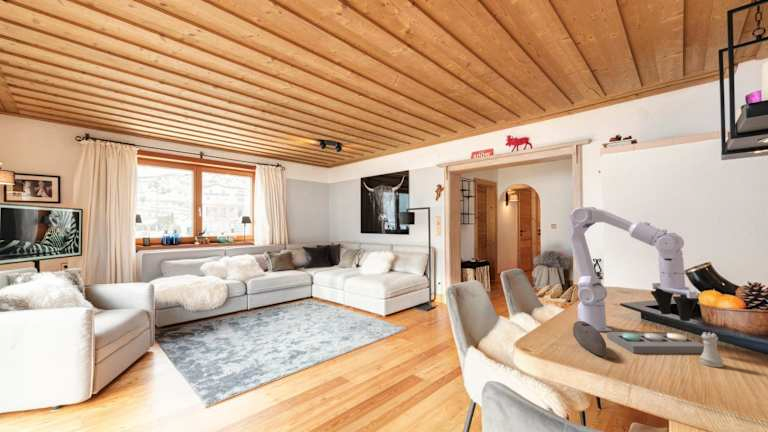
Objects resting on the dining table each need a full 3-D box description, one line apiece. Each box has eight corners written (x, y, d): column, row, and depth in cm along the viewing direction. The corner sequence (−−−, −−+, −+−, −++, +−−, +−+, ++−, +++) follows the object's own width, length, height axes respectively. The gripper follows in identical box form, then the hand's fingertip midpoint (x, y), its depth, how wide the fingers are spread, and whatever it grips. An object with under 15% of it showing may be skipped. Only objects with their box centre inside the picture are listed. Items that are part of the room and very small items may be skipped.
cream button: (663, 336, 101) (663, 332, 101) (678, 336, 100) (678, 332, 100) (674, 341, 96) (674, 337, 96) (690, 341, 96) (690, 337, 96)
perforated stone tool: (614, 360, 89) (612, 335, 89) (593, 360, 90) (592, 334, 90) (589, 341, 104) (588, 320, 104) (572, 341, 105) (570, 319, 105)
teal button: (619, 337, 102) (618, 333, 102) (634, 336, 102) (633, 333, 102) (628, 341, 98) (627, 337, 98) (643, 341, 97) (643, 337, 97)
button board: (607, 338, 106) (606, 332, 106) (672, 338, 104) (672, 331, 104) (633, 353, 93) (633, 346, 94) (708, 353, 91) (708, 346, 92)
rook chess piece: (729, 368, 82) (726, 336, 82) (708, 367, 83) (706, 336, 83) (715, 361, 86) (712, 331, 87) (695, 360, 87) (693, 330, 88)
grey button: (641, 336, 101) (640, 333, 101) (656, 336, 101) (655, 333, 101) (651, 341, 97) (651, 337, 97) (667, 341, 97) (666, 337, 97)
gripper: (707, 275, 92) (710, 324, 91) (667, 269, 106) (670, 311, 105) (680, 276, 92) (683, 324, 92) (644, 269, 107) (647, 311, 106)
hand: (675, 317), depth 99 cm, fingers open, 7 cm apart
